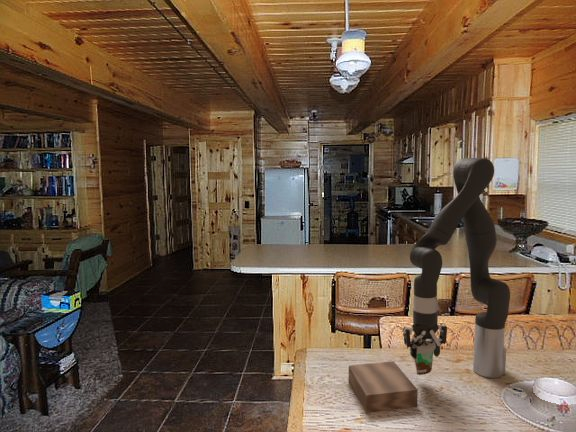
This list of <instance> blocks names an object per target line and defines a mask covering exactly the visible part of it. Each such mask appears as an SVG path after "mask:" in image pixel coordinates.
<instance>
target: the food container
mask: <svg viewBox="0 0 576 432" xmlns="http://www.w3.org/2000/svg"><path fill="white" fill-rule="evenodd" d="M417 338H418V336H417ZM416 348H417V359H414V364H415V370H416V374H417V375H418V376H421V375H426V374H429V373H431V372H432V370H433V361H434V360H433V359H434V353H433V350H434V349H435V348H436V345H435V341H434V340H433V339H432V338H431V339H424V340H422V339H421V341H420V343H418V344H417V346H416Z"/></svg>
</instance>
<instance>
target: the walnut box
mask: <svg viewBox="0 0 576 432" xmlns="http://www.w3.org/2000/svg"><path fill="white" fill-rule="evenodd" d="M348 382H349V385H350V386H351V388H352V390H353V392H354V394H355V396H356V397H357V399H358V401H359V403H360V404H361V406H362V408H363V410H364V411H365V413H366V414H370V413H378V412H387V411H395V410H403V409H404V410H405V409H413V408H418V391H419V390H418V387H416V386H415V385H414V383H412V381H411V380H410V379H409V378H408V376H407V375H406V374H405V372H403V370H402V369H401V368H400V367H399V366H398V365H397V363H396V362H395V361H385V362H384V361H383V362H382V361H381V362H374V363H373V362H372V363H363V364H351V365H348Z"/></svg>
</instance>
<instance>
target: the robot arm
mask: <svg viewBox="0 0 576 432" xmlns="http://www.w3.org/2000/svg"><path fill="white" fill-rule="evenodd" d="M452 171H453V172H452V174H453V175H452V176H453V181H454V185H455V188H456V192H457V195H456V196H454V198H453V199H452V200H451V201H449V202H448V203H447V204H446V205H444V207H442V209H440V210H439V212H438V213H437V214H436V216H435V217H434V219H433V220H432V222H431V224H430V226H429V227H428V230H427V231H426V232H425V234H423V236H421V237H420V239H419V240H418V241H416V243H415V244H414V245H413V247H412V248H411V250H410V253H409V260H410V263H411V265H413V266H415V267H416V268H419V269H421V274H420V275H416V276H415V277H414V281H413V297H412V298H413V299H412V326H411V327H407V326H404V327H403V329H402V330H403V343H404V345H406V347H407V348H409V349H410V350H409V354H410V356H411V357H412V358H413V359H414V360H415V359H417V348H416V346H417V344H418V343H420V341H421V339H422V340H424V339H431V338H432V339H433V340H434V341H435V345H436V348H435V349H434V350H433V356H435V358H438V357H439V356H440V354H441V345H442V344H444V345H445V344H447V337H448V336H447V335H448V327H447V325H445V324H444V323H440V324H438V321H439V320H438V319H439V314H438V313H439V311H438V310H439V305H438V304H439V301H438V282H439V279H440V275H441V271H442V268H443V258H442V257H443V256H442V255H441V252H440V251H438V250H437V247H439V246H445V245H447V244H448V243H449V241H450V240H451V238H452V236H453V234H454V233H455V231H456V229H457V228H458V226H459V224H460V222H461V221H463V226H464V228H463V229H464V235H465V242H466V247H467V254H468V260H469V270H470V271H469V275H470V276H469V277H470V291H471V295H472V298H473V299H474V300H475V301H476V302H478V303H481V304H484V305H486V306H487V307H486V311H482V312H478V313H477V314H475V320H474V321H475V322H474V340H473V341H474V342H473V343H474V344H473V363H472V365H473V366H472V367H473V368H472V370H473V372H474V373H476V374H477V375H479V376H481V377H484V378H489V379H491V378H492V379H498V378H500V377H502V376H503V375H506V364H507V362H506V361H507V347H505V333H506V331H505V330H506V321H507V320H508V317H509V309H510V302H511V301H510V299H511V290H510V286H509V285H508V284H507V283H506V282H505V281H501V280H498V279H495V278H493V277H491V275H490V271H489V261H490V258H491V257H492V255H493V254H494V251H495V249H496V246H497V232H496V225H495V222H494V220H493V217H492V216H491V215H490V212H489V211H488V209H487V208H486V207H485V205H484V203H483V201H482V199H481V197H480V196H481V195H482V194H483V192H484V191H485V190H486V189H487V187H488V186H489V185H490V183H491V182H492V180H493V178H494V176H495V166H494V164H493V162H492V161H491V160H490V159H487V158H484V157H462V158H459V159H458V160H457V161H456V162H455V164H454V166H453V170H452ZM437 331H439V338H438V336H437V335H436V333H438V332H437ZM412 333H413V335H412ZM411 335H412V337H411ZM417 336H418V338H417Z"/></svg>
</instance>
